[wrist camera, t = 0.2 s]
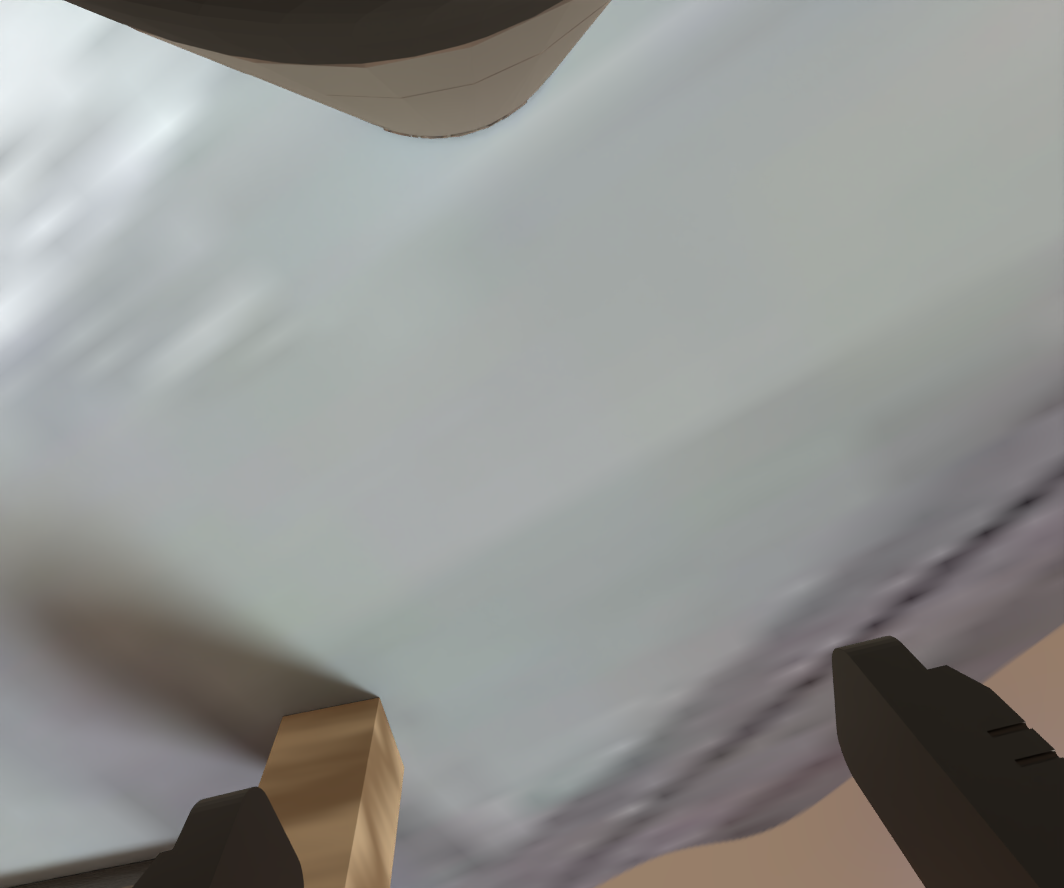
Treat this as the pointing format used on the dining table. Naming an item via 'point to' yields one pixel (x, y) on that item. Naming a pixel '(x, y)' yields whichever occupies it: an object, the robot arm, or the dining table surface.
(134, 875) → the chassis
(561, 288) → the dining table surface
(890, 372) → the dining table surface
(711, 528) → the dining table surface
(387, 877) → the maple block
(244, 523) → the dining table surface
